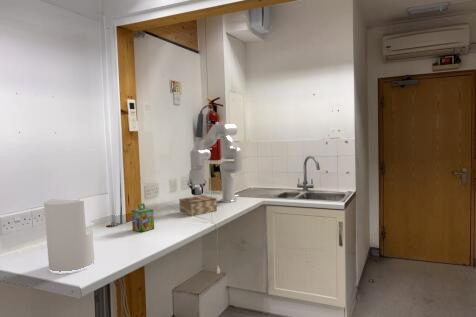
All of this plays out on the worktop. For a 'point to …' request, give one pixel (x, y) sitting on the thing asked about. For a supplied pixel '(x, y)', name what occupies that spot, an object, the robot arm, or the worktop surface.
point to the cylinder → (67, 235)
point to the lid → (197, 199)
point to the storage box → (198, 207)
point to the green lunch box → (142, 219)
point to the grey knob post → (198, 190)
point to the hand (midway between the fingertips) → (197, 193)
